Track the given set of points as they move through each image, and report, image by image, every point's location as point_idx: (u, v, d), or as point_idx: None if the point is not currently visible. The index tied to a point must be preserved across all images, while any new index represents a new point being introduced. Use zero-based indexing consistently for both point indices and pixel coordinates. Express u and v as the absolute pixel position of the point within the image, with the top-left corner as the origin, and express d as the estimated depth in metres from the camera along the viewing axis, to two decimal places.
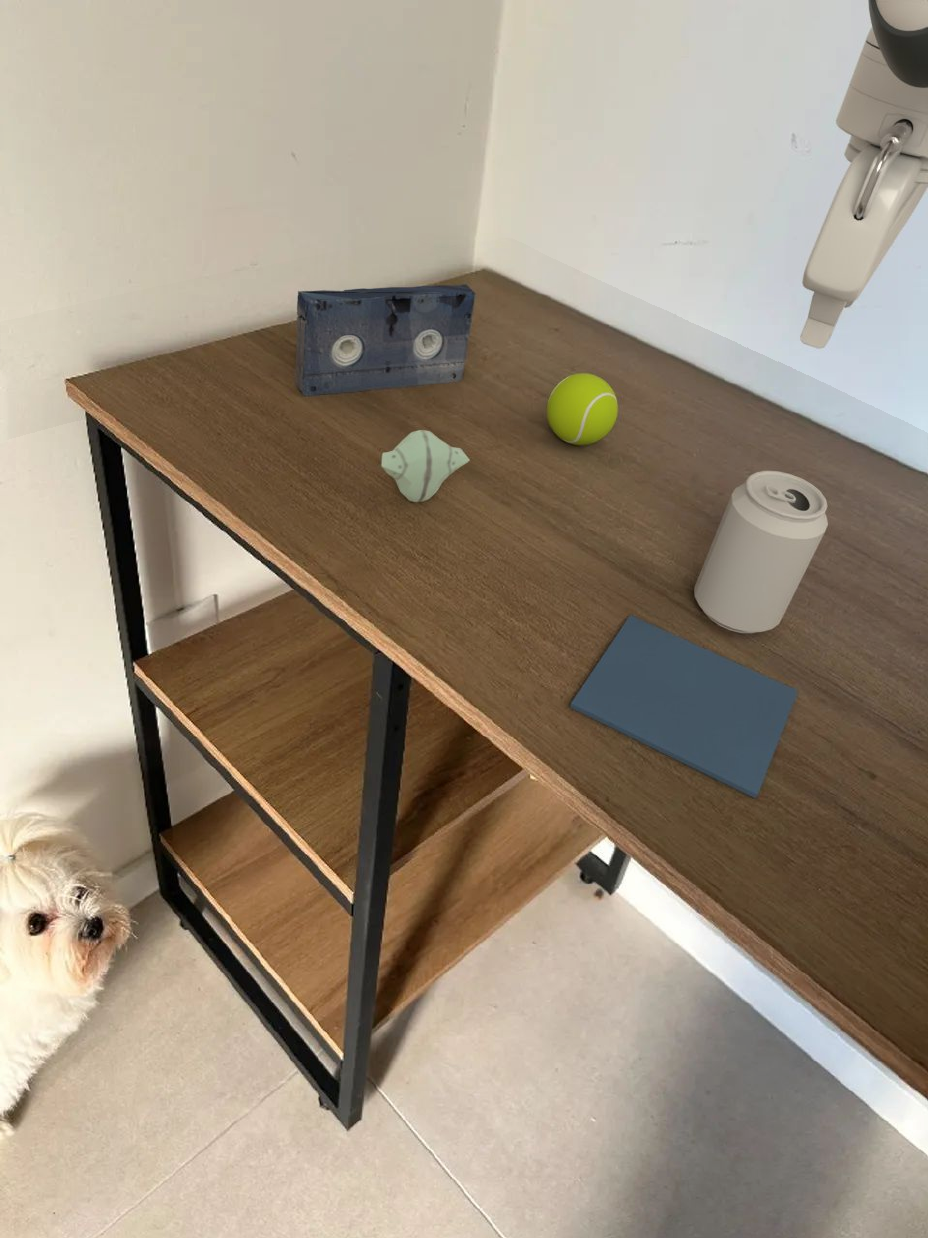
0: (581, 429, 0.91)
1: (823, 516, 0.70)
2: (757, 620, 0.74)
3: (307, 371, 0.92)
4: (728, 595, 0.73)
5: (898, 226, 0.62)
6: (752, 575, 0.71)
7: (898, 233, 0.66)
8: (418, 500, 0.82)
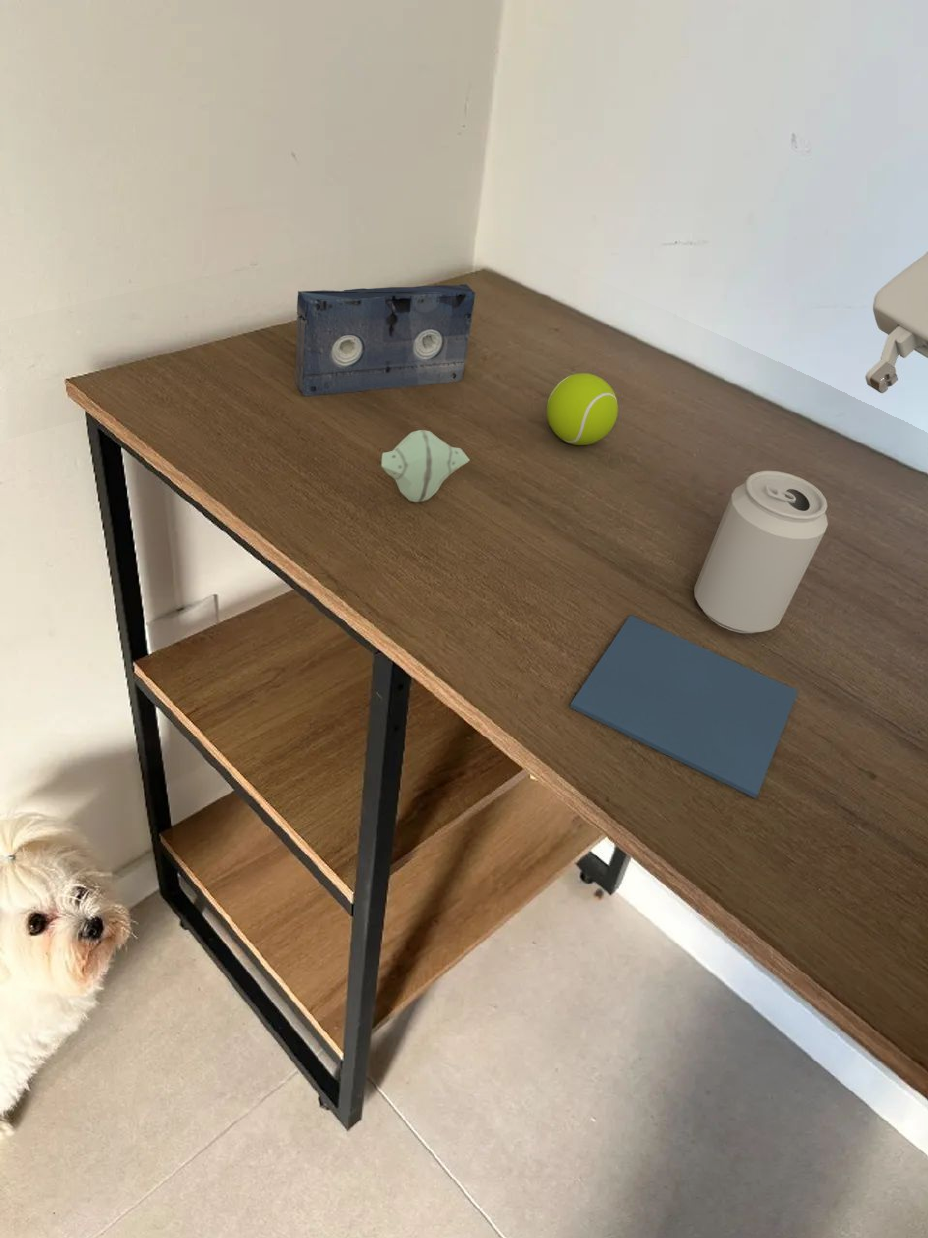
0: (581, 429, 0.91)
1: (823, 516, 0.70)
2: (757, 620, 0.74)
3: (307, 371, 0.92)
4: (728, 595, 0.73)
5: None
6: (752, 575, 0.71)
7: None
8: (418, 500, 0.82)
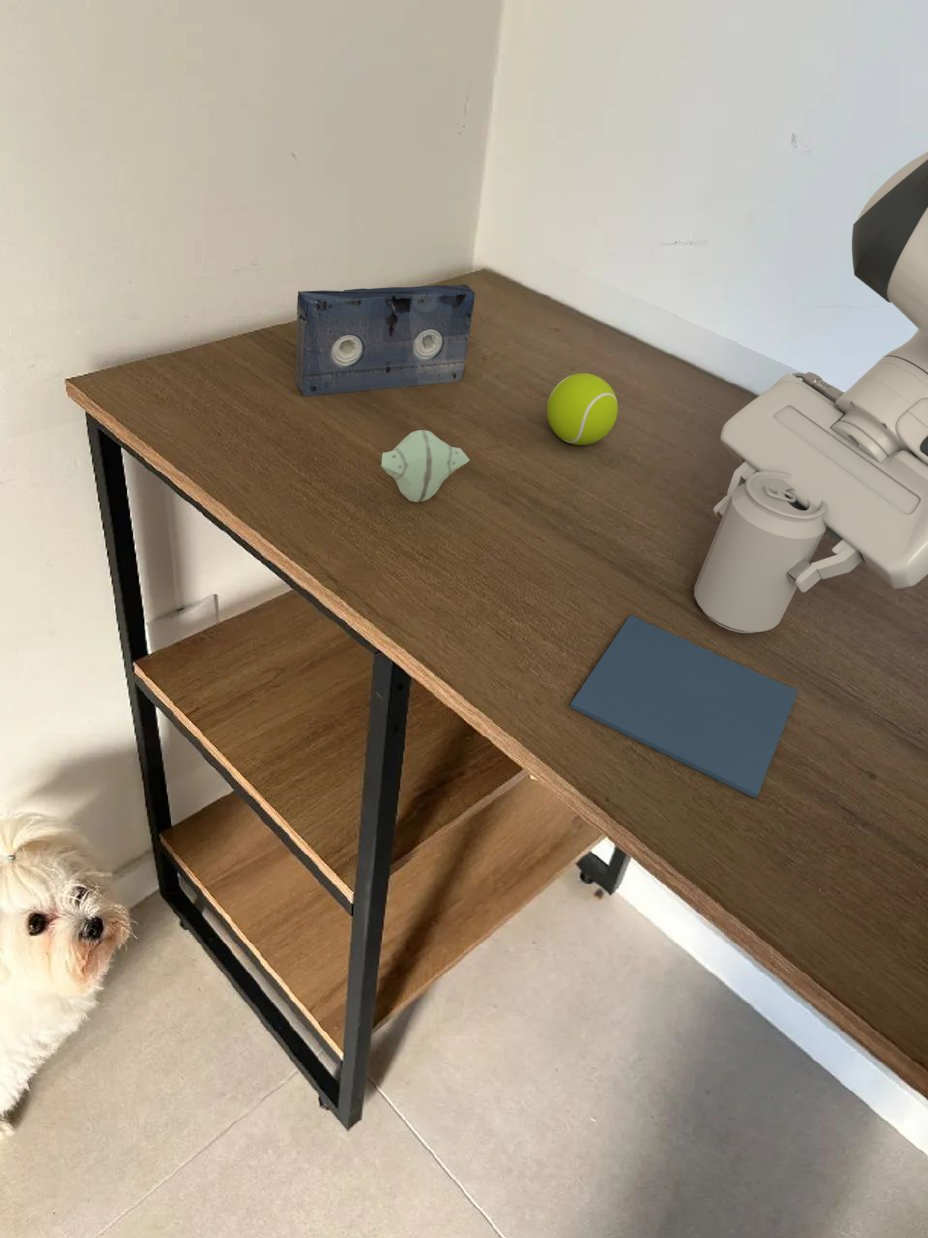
0: (581, 429, 0.91)
1: None
2: (756, 620, 0.74)
3: (307, 371, 0.92)
4: (728, 595, 0.73)
5: (829, 484, 0.70)
6: (752, 575, 0.71)
7: (853, 527, 0.68)
8: (418, 500, 0.82)
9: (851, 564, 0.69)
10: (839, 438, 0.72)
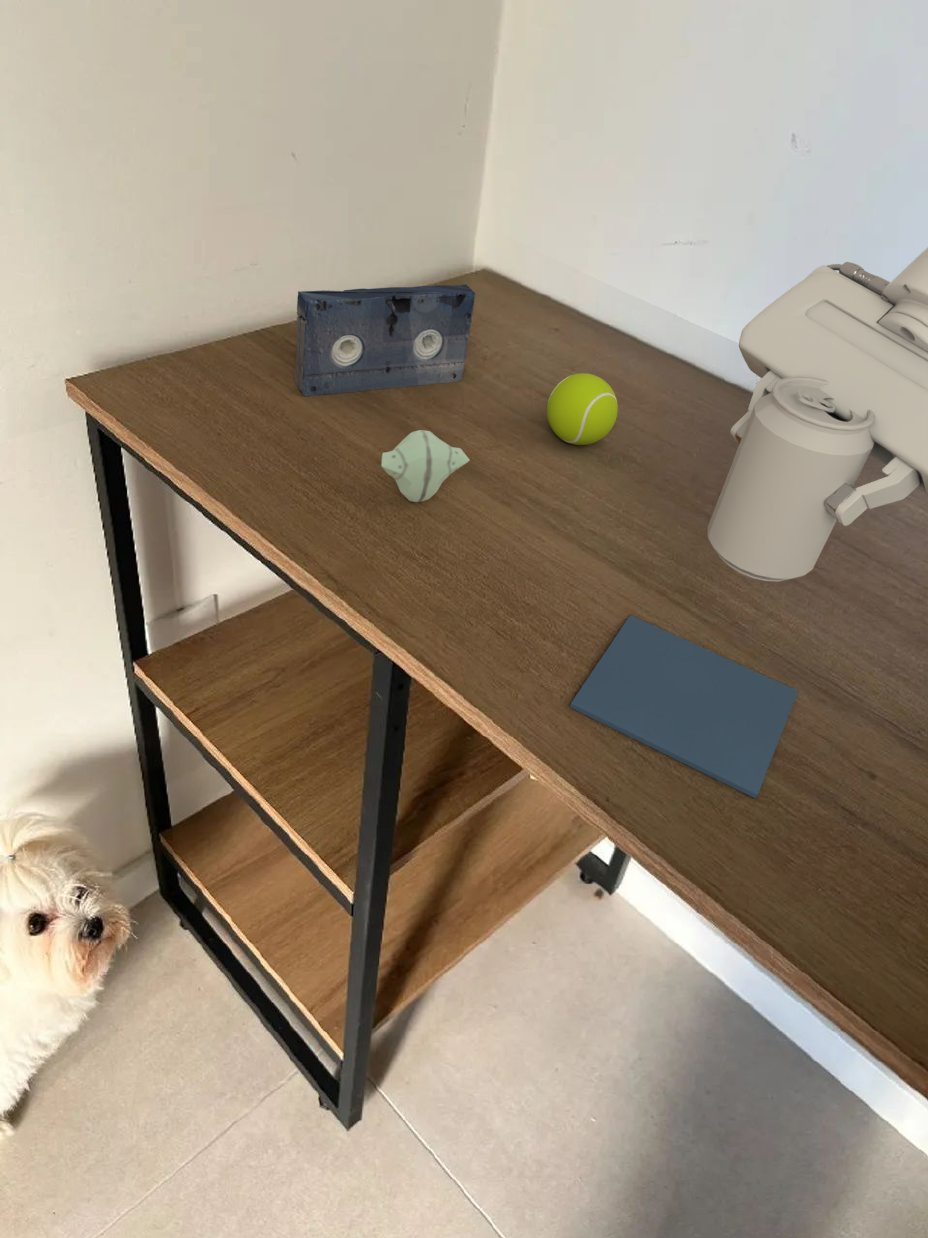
0: (581, 429, 0.91)
1: None
2: (785, 563, 0.60)
3: (307, 371, 0.92)
4: (750, 532, 0.59)
5: (877, 390, 0.56)
6: (781, 505, 0.57)
7: (910, 440, 0.54)
8: (418, 500, 0.82)
9: (906, 488, 0.55)
10: (888, 334, 0.57)
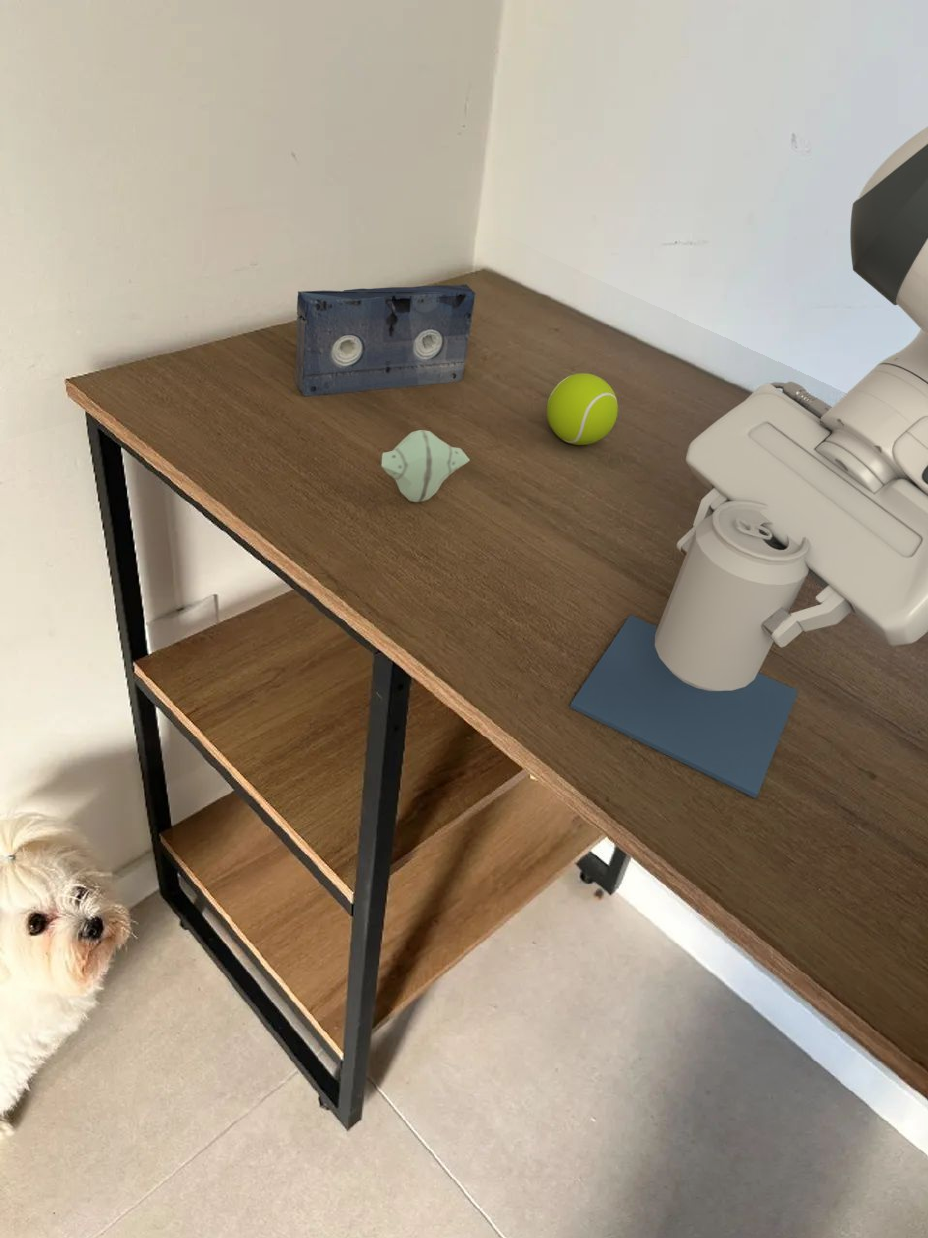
0: (581, 429, 0.91)
1: None
2: (727, 677, 0.62)
3: (307, 371, 0.92)
4: (692, 648, 0.61)
5: (812, 518, 0.59)
6: (720, 626, 0.59)
7: (841, 571, 0.56)
8: (418, 500, 0.82)
9: (839, 615, 0.58)
10: (825, 462, 0.60)
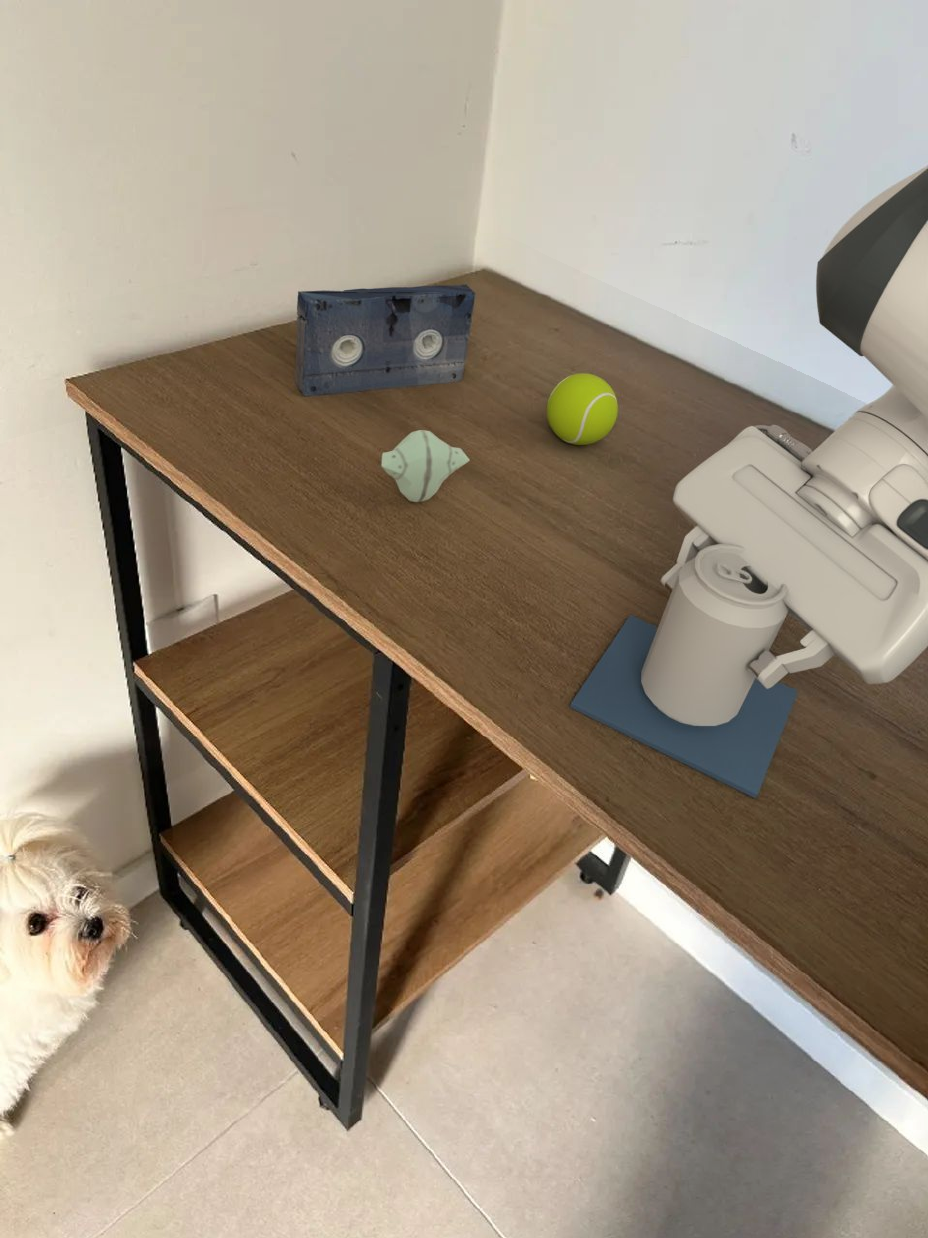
0: (581, 429, 0.91)
1: None
2: (710, 713, 0.64)
3: (307, 371, 0.92)
4: (677, 686, 0.64)
5: (793, 560, 0.61)
6: (703, 666, 0.62)
7: (820, 612, 0.59)
8: (418, 500, 0.82)
9: (823, 658, 0.60)
10: (805, 505, 0.62)
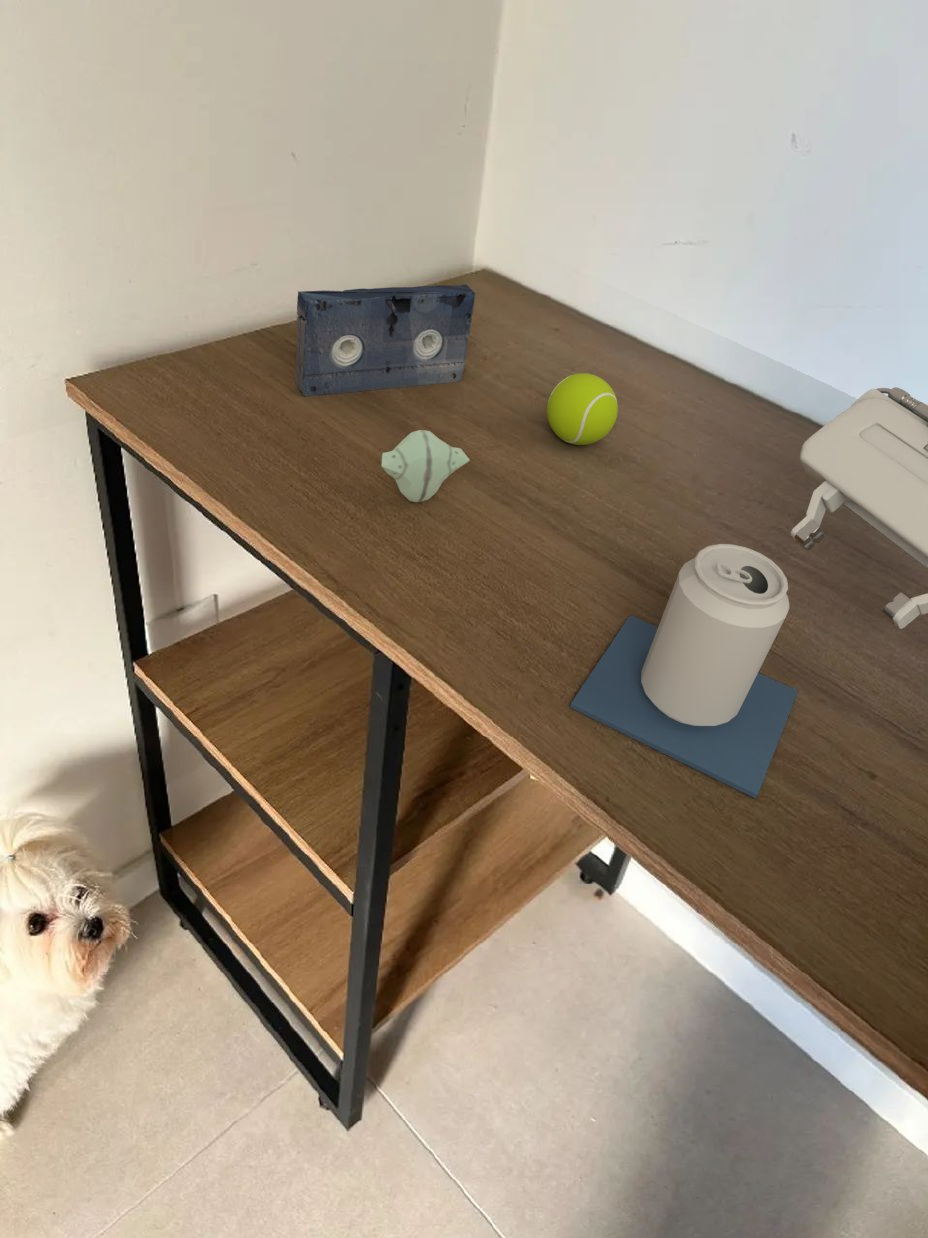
0: (581, 429, 0.91)
1: (783, 599, 0.61)
2: (710, 713, 0.64)
3: (307, 371, 0.92)
4: (677, 686, 0.64)
5: (925, 509, 0.66)
6: (703, 666, 0.62)
7: None
8: (418, 500, 0.82)
9: None
10: None
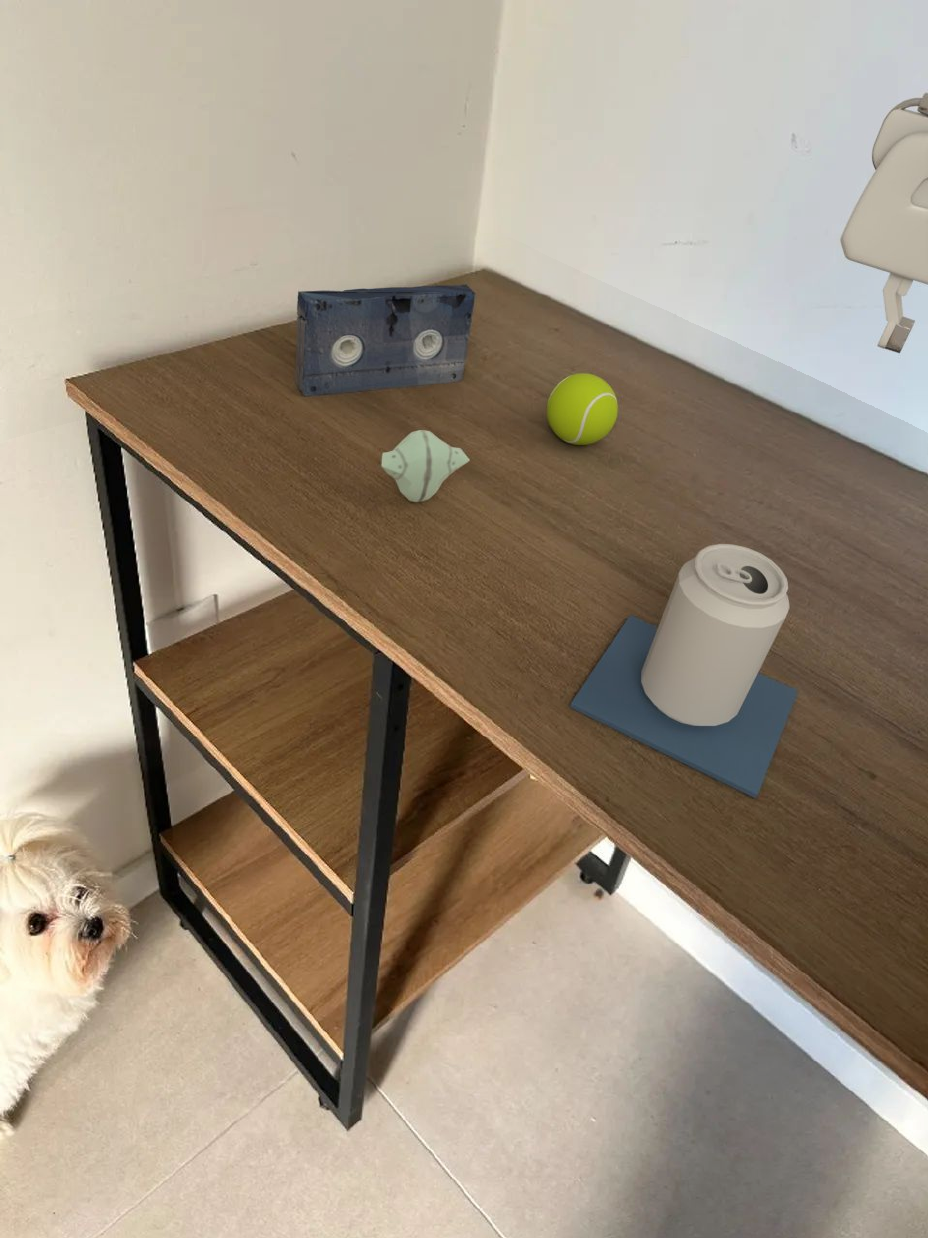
0: (581, 429, 0.91)
1: (783, 599, 0.61)
2: (710, 713, 0.64)
3: (307, 371, 0.92)
4: (677, 686, 0.64)
5: None
6: (703, 666, 0.62)
7: None
8: (418, 500, 0.82)
9: None
10: None
